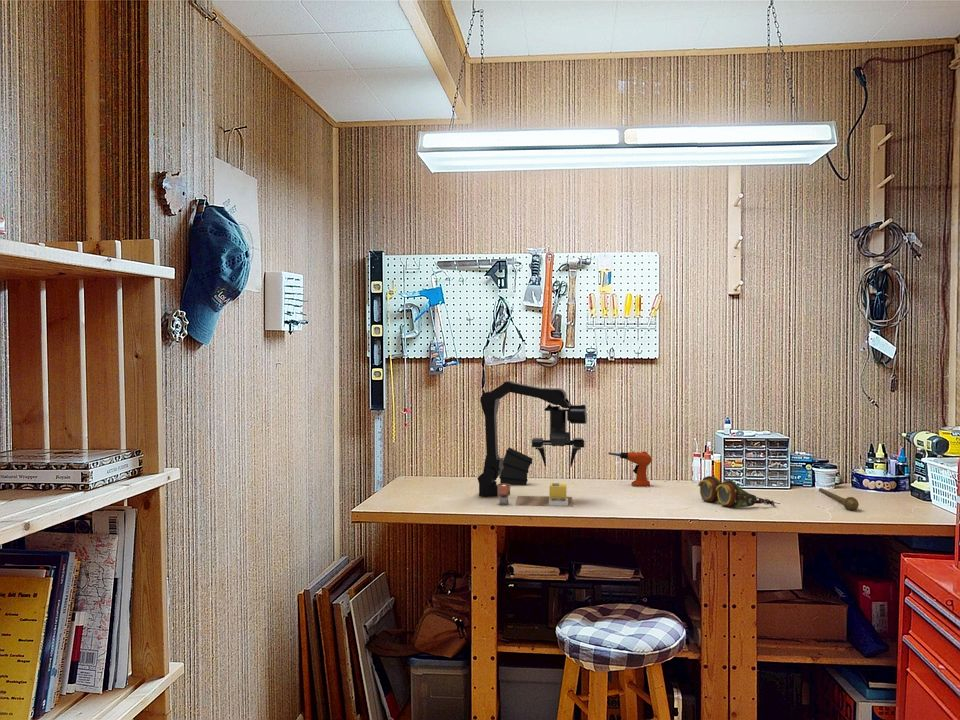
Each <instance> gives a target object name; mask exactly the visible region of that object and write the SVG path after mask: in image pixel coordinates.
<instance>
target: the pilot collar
mask: <svg viewBox="0 0 960 720" xmlns="http://www.w3.org/2000/svg"><path fill="white" fill-rule="evenodd" d="M565 506H568V498H555V497H549V506H548V507H565Z"/></svg>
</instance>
